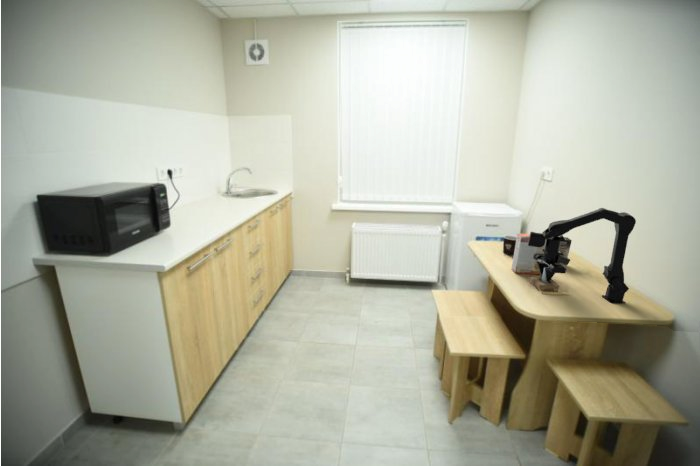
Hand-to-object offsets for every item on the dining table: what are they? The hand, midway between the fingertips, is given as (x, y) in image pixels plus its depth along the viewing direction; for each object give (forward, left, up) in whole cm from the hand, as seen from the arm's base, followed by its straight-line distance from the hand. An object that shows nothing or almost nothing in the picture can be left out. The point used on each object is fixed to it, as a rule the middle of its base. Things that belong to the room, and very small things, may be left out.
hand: (545, 279), depth 161 cm
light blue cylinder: (0, 0, -4) cm, 4 cm away
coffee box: (+32, -22, -4) cm, 39 cm away
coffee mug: (+47, -3, -4) cm, 47 cm away
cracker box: (+19, 0, -4) cm, 20 cm away
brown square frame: (0, 0, -4) cm, 4 cm away
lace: (-5, -2, -4) cm, 7 cm away
